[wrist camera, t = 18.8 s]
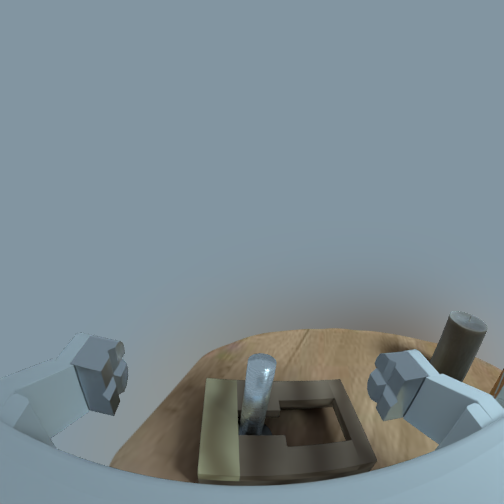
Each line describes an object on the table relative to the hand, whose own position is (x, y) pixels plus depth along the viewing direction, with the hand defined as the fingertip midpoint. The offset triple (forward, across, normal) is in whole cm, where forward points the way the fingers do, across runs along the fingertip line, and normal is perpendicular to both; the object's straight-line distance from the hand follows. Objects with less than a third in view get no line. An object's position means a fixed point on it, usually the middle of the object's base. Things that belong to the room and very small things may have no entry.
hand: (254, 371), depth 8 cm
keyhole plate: (+17, -8, +28) cm, 34 cm away
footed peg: (+17, -3, +28) cm, 33 cm away
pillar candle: (+27, -46, +28) cm, 60 cm away
